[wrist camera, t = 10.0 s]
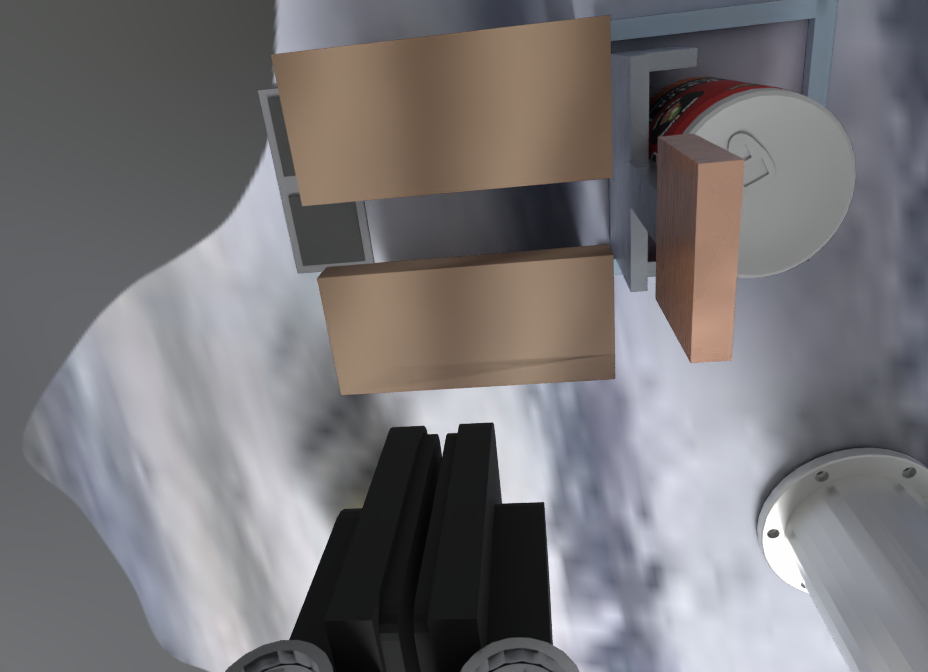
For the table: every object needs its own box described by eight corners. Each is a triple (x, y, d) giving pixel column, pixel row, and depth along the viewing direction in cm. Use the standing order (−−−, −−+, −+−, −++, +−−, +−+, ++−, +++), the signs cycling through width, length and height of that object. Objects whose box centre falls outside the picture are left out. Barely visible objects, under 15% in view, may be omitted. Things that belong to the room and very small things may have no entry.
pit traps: (343, 80, 37) (342, 81, 37) (374, 266, 41) (373, 268, 41) (259, 90, 37) (256, 90, 37) (298, 272, 42) (296, 274, 42)
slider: (670, 46, 35) (847, 52, 16) (666, 243, 39) (802, 423, 21) (603, 53, 35) (702, 68, 17) (607, 248, 39) (688, 429, 21)
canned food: (698, 43, 35) (775, 44, 25) (792, 147, 37) (899, 186, 27) (593, 153, 37) (625, 193, 27) (686, 244, 39) (747, 313, 29)
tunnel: (575, 24, 35) (610, 14, 22) (583, 273, 41) (615, 379, 28) (356, 49, 36) (270, 54, 24) (393, 287, 42) (341, 395, 29)
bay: (831, -6, 34) (838, -7, 33) (803, 256, 39) (808, 260, 38) (594, 22, 35) (596, 22, 34) (600, 271, 40) (601, 276, 40)
